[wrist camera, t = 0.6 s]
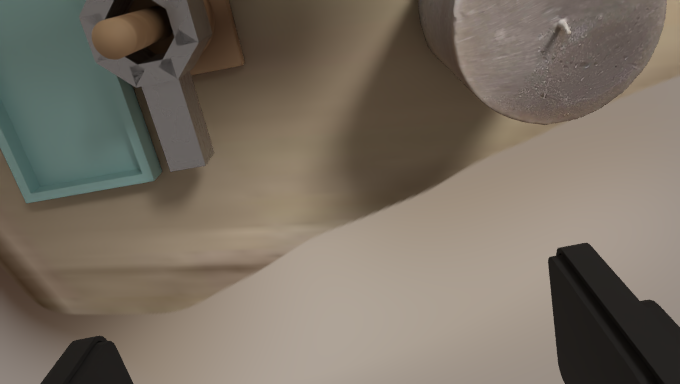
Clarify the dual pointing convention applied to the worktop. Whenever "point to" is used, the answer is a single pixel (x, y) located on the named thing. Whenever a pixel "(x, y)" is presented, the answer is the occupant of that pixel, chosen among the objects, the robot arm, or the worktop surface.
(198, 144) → the wrench
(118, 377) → the robot arm
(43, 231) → the worktop surface
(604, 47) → the pillar candle
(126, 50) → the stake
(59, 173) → the tray
